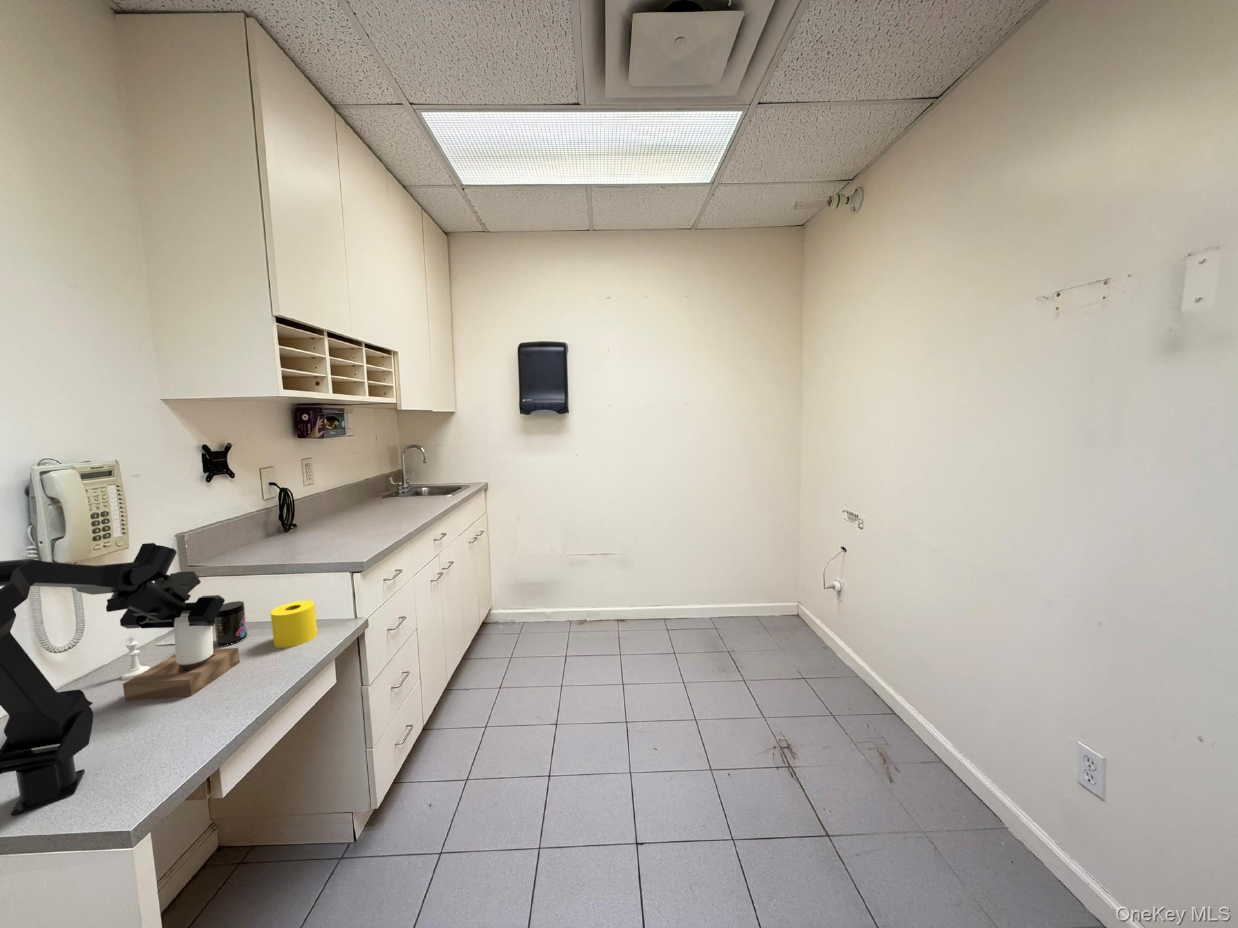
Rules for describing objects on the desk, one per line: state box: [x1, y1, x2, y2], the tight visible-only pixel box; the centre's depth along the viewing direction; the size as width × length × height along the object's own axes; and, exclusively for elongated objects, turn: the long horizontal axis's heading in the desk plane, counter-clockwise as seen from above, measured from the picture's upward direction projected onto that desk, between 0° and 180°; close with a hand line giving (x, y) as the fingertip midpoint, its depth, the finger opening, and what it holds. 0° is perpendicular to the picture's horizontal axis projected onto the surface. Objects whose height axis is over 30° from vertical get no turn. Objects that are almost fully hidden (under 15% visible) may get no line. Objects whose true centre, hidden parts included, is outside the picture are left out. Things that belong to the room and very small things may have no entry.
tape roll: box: [270, 600, 318, 649], centre depth 124 cm, size 10×10×9 cm
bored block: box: [122, 647, 241, 702], centre depth 105 cm, size 14×14×4 cm
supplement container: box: [214, 600, 248, 646], centre depth 124 cm, size 7×7×10 cm
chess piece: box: [121, 635, 151, 681], centre depth 108 cm, size 5×5×10 cm
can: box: [173, 613, 214, 665], centre depth 104 cm, size 6×6×12 cm
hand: (199, 624), depth 105 cm, fingers closed on can, 6 cm apart
